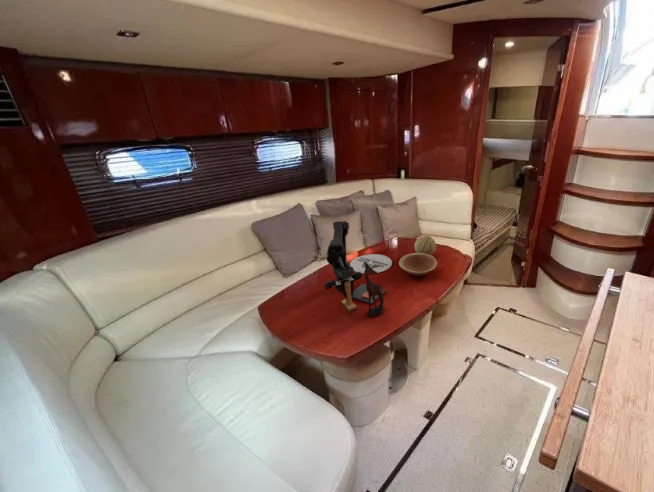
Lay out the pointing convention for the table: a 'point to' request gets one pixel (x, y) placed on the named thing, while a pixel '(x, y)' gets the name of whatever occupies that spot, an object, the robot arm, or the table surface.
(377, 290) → the statue
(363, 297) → the block
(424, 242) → the cantaloupe
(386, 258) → the plate
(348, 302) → the tan wooden tall post
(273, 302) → the table surface
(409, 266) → the bowl
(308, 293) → the table surface
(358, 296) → the board
